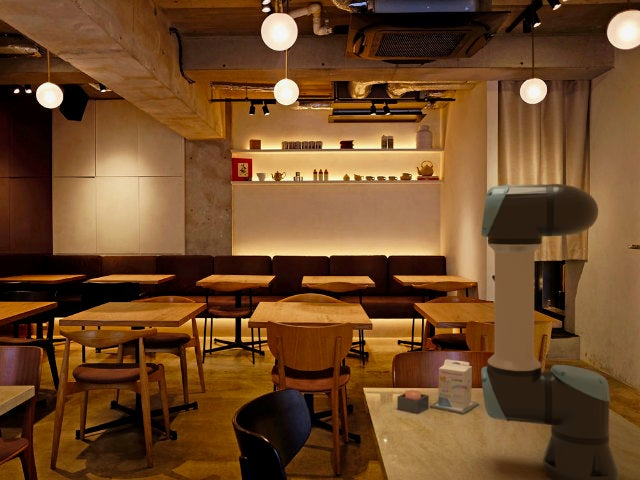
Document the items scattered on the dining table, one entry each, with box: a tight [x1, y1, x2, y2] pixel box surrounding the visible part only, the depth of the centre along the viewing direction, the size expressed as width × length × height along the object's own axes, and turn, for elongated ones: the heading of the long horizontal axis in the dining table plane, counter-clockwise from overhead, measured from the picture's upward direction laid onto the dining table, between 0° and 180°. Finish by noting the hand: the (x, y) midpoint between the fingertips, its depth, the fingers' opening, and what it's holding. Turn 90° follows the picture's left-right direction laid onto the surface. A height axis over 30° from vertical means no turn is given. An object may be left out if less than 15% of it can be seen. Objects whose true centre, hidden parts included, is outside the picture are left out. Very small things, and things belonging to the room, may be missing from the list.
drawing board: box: [429, 401, 480, 416], centre depth 169 cm, size 12×11×1 cm
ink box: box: [437, 358, 473, 409], centre depth 169 cm, size 9×8×13 cm
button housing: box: [396, 392, 430, 415], centre depth 166 cm, size 7×7×4 cm
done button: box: [404, 389, 422, 400], centre depth 166 cm, size 5×5×4 cm
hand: (513, 328), depth 169 cm, fingers closed
